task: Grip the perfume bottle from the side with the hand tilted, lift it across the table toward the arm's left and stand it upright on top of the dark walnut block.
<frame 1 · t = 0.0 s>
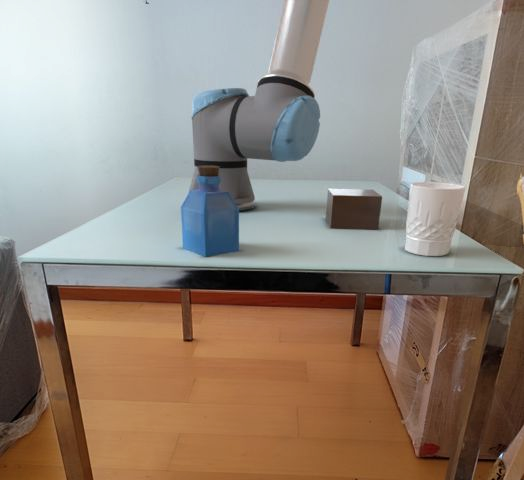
white cup: (425, 252, 76), on the table
perfume bottle: (210, 250, 74), on the table
walnut block: (350, 224, 94), on the table
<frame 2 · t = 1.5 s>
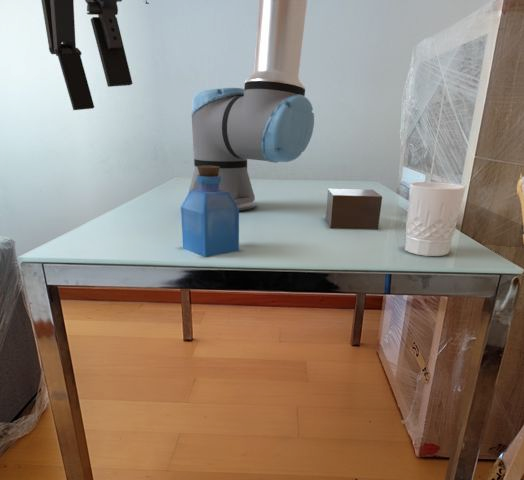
hand: (100, 98, 59), 20 cm above the table, tool pointing down, fingers open, 13 cm apart
nothing on the table moved.
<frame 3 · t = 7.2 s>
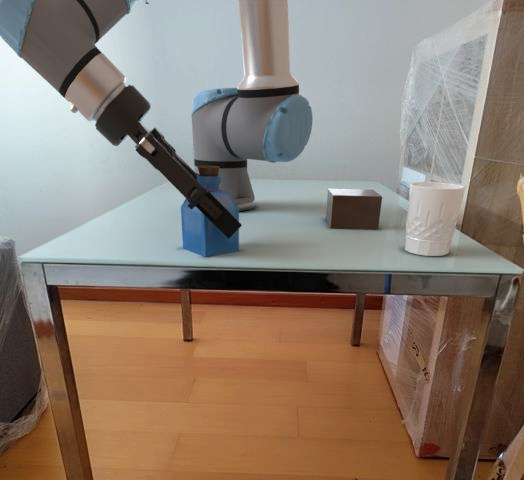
hand: (231, 224, 73), 4 cm above the table, tool tilted 45°, fingers closed on perfume bottle, 8 cm apart
perfume bottle: (210, 250, 74), on the table, touching gripper
everything else where it was.
when the fingers open (10 cm above the table, at t = 18.9 s): perfume bottle stays where it is, resting on walnut block.
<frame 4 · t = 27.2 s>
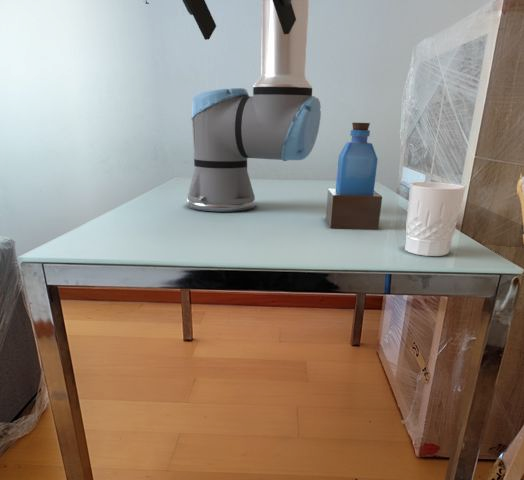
hand: (248, 30, 68), 30 cm above the table, tool tilted 45°, fingers open, 13 cm apart
perfume bottle: (353, 193, 91), point 6 cm above the table, touching walnut block
everything else where it was.
at the end: perfume bottle inside the target area on the walnut block (0.1 cm from its centre), point 5.8 cm above the walnut block's base; perfume bottle tilted 0°; the gripper is holding nothing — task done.
